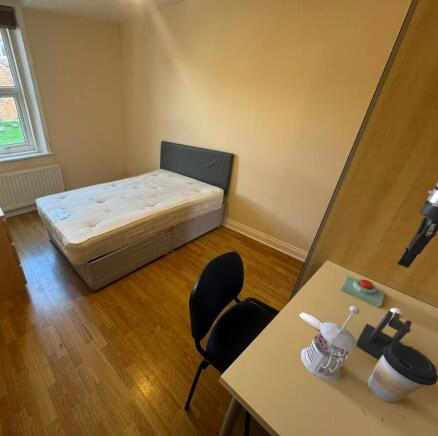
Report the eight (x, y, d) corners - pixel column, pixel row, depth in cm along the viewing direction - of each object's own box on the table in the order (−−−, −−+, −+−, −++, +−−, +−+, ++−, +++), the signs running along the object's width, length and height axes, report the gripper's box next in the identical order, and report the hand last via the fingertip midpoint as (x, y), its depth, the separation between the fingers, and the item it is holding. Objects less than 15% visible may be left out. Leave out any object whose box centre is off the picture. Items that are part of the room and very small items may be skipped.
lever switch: (387, 312, 79) (393, 305, 78) (400, 319, 77) (406, 311, 76) (385, 325, 69) (391, 317, 68) (399, 333, 67) (406, 324, 66)
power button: (372, 286, 91) (374, 282, 90) (370, 291, 88) (372, 287, 88) (360, 281, 93) (362, 278, 92) (358, 285, 91) (360, 282, 90)
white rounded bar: (322, 335, 77) (325, 329, 76) (297, 318, 83) (300, 313, 81) (326, 330, 79) (329, 324, 77) (301, 313, 84) (304, 308, 83)
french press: (338, 358, 70) (378, 302, 58) (341, 395, 62) (388, 339, 50) (301, 341, 75) (331, 286, 63) (299, 374, 67) (332, 318, 54)
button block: (382, 295, 91) (387, 287, 89) (379, 308, 86) (384, 300, 84) (345, 279, 99) (349, 272, 97) (340, 290, 94) (344, 282, 92)
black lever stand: (364, 326, 80) (383, 300, 73) (400, 346, 73) (424, 320, 67) (354, 345, 74) (373, 319, 68) (392, 368, 68) (417, 342, 61)
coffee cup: (359, 392, 63) (387, 361, 55) (360, 364, 69) (385, 333, 61) (407, 420, 57) (445, 391, 50) (404, 387, 63) (438, 357, 56)
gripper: (426, 194, 75) (390, 252, 87) (424, 207, 68) (385, 268, 79) (462, 201, 70) (419, 261, 82) (465, 216, 63) (417, 280, 74)
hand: (403, 265), depth 81 cm, fingers closed
